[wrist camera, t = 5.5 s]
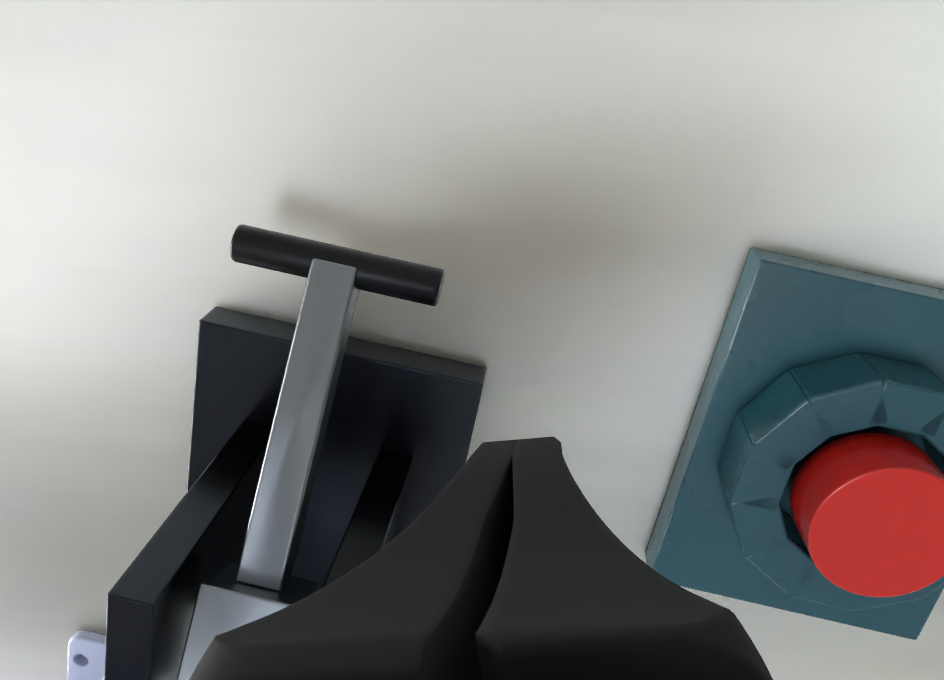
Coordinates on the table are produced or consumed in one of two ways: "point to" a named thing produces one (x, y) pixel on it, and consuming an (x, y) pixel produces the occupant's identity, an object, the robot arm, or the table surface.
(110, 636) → the bracket
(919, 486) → the button
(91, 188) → the table surface
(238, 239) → the lever
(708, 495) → the button box
